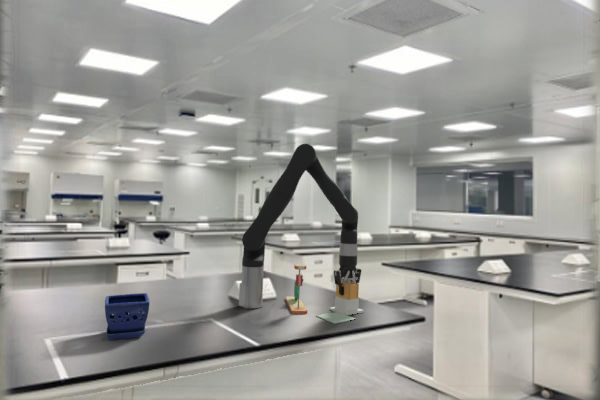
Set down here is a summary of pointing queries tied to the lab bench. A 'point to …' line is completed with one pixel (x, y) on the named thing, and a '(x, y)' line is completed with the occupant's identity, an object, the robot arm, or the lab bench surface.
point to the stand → (346, 305)
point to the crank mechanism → (297, 294)
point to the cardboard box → (349, 291)
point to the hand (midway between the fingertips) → (346, 294)
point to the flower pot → (126, 315)
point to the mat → (335, 317)
